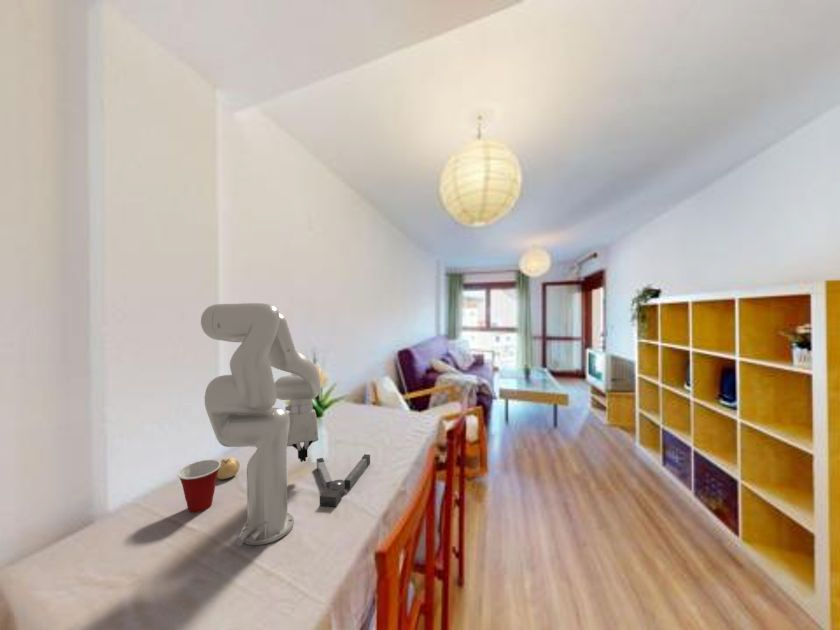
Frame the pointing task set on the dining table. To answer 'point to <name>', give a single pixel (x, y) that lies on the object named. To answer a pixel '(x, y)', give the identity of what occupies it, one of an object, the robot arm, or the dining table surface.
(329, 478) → the tong jaw
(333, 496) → the tong fixed
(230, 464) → the onion
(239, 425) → the robot arm
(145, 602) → the dining table surface
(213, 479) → the plastic cup
